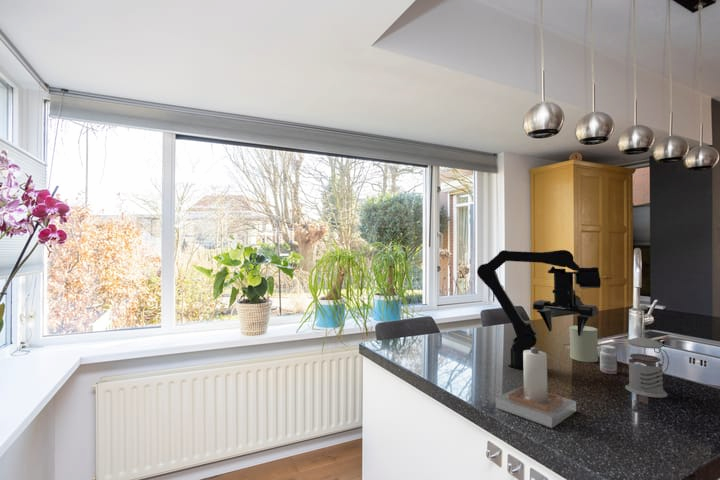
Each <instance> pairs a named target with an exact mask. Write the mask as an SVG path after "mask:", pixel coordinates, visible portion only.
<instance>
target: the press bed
mask: <svg viewBox="0 0 720 480" xmlns="http://www.w3.org/2000/svg"><path fill="white" fill-rule="evenodd" d="M547 397H548V402H547V403H545V404H541V403H538V402H535V401H531V400H528V399H525V398H524V384H523V385H520V386H517V388H514V389H512V390H510V391H508V392H505V393H504V394H502V395H500V396H498V397H496V398H495V409H498V410H502V411H503V412H506V413H509V414H511V415H512V414H513V415H515V416H518V417H520V418H523V419H524V420H525V419H526V420H528V421H530V422H531V421H532V422H534V423H537V424H540V425H543V426H545V427H548V428H550V429H553V428H555V427H556V426H557V425H559V424H561V422H563V421H564V420H566V419H567V418H569V417H570V416H571V415H573V414H575V412H577V401H576V400H573V399H571V398H566V397H563V396H562V395H558V394H554V393H551V392H548V391H547Z"/></svg>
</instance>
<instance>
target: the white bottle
mask: <svg viewBox="0 0 720 480" xmlns="http://www.w3.org/2000/svg"><path fill="white" fill-rule="evenodd" d="M522 371H523V386H524V398H525V399H528V400H531V401H535V402H538V403H541V404H545V403H547V402H548V397H547V392H548V354H547V353H546V352H545V351H542V350H539V347H535V346H533V347H531V348H530V350H525V351H523V370H522Z"/></svg>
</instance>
